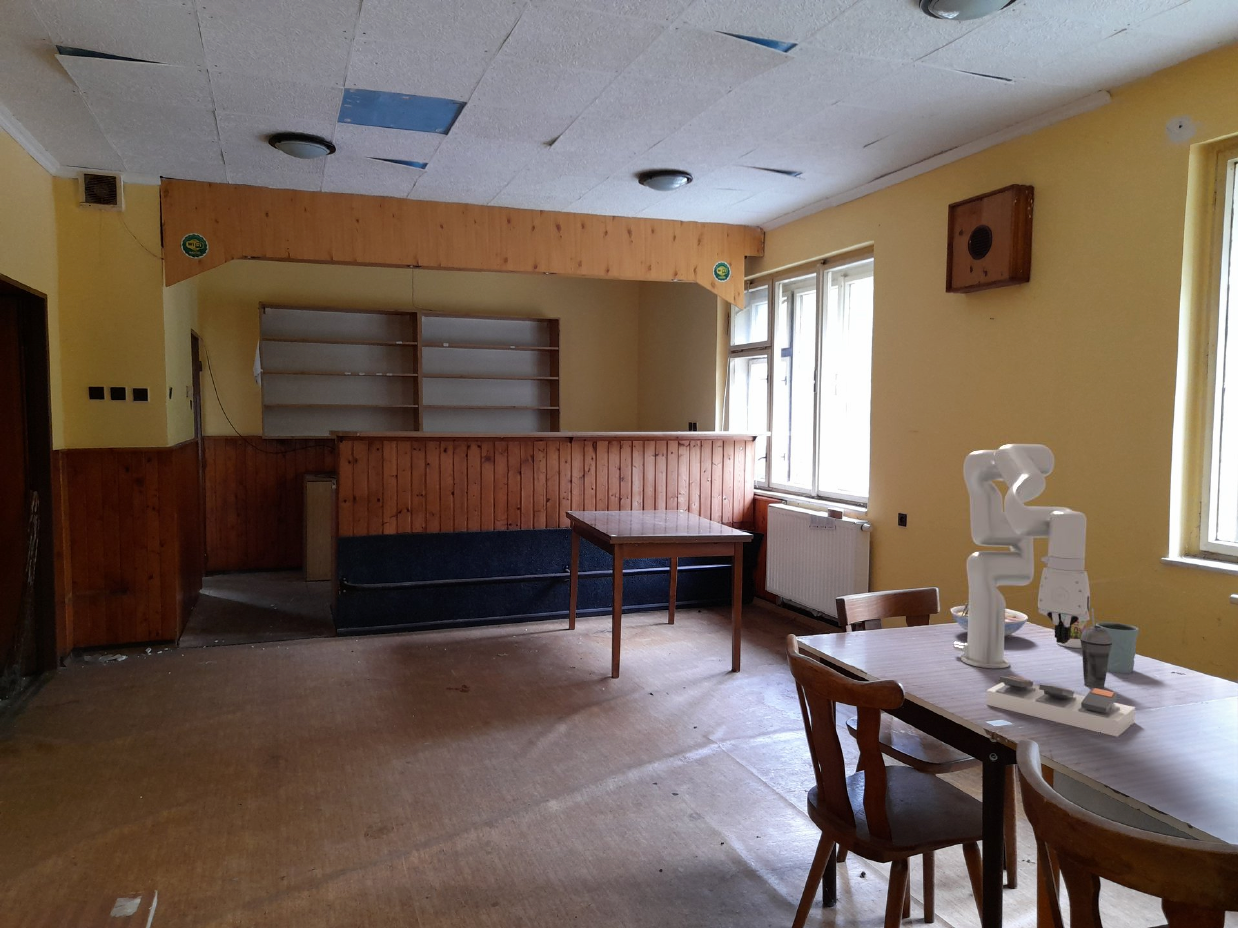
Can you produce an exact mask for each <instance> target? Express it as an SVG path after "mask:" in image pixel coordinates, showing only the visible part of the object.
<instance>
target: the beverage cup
mask: <svg viewBox="0 0 1238 928" xmlns="http://www.w3.org/2000/svg"><path fill="white" fill-rule="evenodd" d="M1094 611H1095V610H1094V608H1091V611H1090V612H1091V621H1092V623H1091V624H1092V625H1091V626H1088V627H1086V629H1085V630H1084V631H1083V633H1082V635H1081V639H1080V641H1081V648H1080V649H1081V652H1082V655H1081V657H1082V671H1083V673H1082V674H1083V682H1084V683H1083V684H1084V686H1085V687H1088V688H1091V689H1092V688H1097V689H1104V688H1105V684H1106V681H1107V680H1106V679H1107V672H1108V671H1107V666H1108V659H1109V652H1110V650H1111V645H1112V640H1111V636H1110V634H1109V633H1108V631H1107V630H1106V629H1104V628H1102V627H1100V626H1096V623H1095V613H1094Z"/></svg>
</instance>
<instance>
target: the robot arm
mask: <svg viewBox="0 0 1238 928" xmlns="http://www.w3.org/2000/svg"><path fill="white" fill-rule="evenodd" d="M1054 467H1055V456H1054V453H1053V452H1052V451H1051V449H1050V448H1049V447H1047V446H1046V445H1043V444H1041V443H1040V444H1038V443H1037V444H1032V443H1031V444H1030V443H1011V444H1005V445H1002V446H1000V447H999V448H998V449H982V450H976V451H973V452H970V453H969V454H968V455H966V457H965V459H964V462H963V471H962V472H963V479H964V483H965V486H966V488H967V492H968V495H969V508H970V509H969V512H970V513H969V514H970V515H969V516H970V517H969V518H970V534H971V539H972V542H974V543H975V544H976V545H978V546H982V547H1007V548H1010V551H1004V550H1002V551H1000V550H981V551H975V552H973V553H971V554H970V555H969V556H968V557H967V559H966V574H967V582H968V583H967V584H968V601H969V603H968V606H969V613H968V631H967V641H966V642H965V643H961V642H958V641H955V642H953V649H954V651H959V652H962V654H961V656H960V660H961V662H963V663H965V664H967V665H970V666H973V667H978V668H986V669H1006V668H1008V667H1009V666H1010V664H1011V663H1010V660H1009V659H1008V658H1006V657H1004V655H1005V653H1004V652H1005V636H1004V633H1005V609H1006V599H1005V597H1004V595H1003V594H1002V593H1001V591H999V589H998V587H1001V586H1010V587H1011V586H1012V587H1014V586H1015V587H1017V586H1021V587H1023V586H1028V585H1029V584H1031V582H1032V581H1033V579H1034V573H1035V560H1034V559H1035V557H1034V556H1035V555H1034V538H1037V539H1038V538H1039V539H1040V538H1041V539H1042V538H1045V539H1046V538H1047V539H1048V550H1047V555H1045V556H1041V562H1042V563H1045V564H1046V567H1043V569H1042V572H1041V577H1040V582H1039V589H1038V597H1037V607H1038V613H1039V614H1041V615H1044V616H1046V617H1048V618H1049V620H1050V621H1051V622H1052V624H1053V625H1054V638H1055V639H1056V643H1060V642H1061V643H1062V644H1065V643H1067V642H1068V640H1070V638H1071V625H1073V624H1074V623H1076V622H1077V621H1086V622H1087V621H1089V620H1090V619H1091V618H1090V613H1089V611H1090V608H1091V606H1090V605H1091V591H1090V581H1089V577H1088V571H1085V559H1086V558H1085V557H1086V542H1087V541H1086V538H1087V535H1086V533H1087V517H1086V516H1087V515H1085V514H1084V513H1083V512H1080V511H1075V510H1073V509H1071V508H1068V507H1065V506H1043V505H1042V506H1037V505H1034V506H1033V505H1032V506H1031V505H1030V506H1029V505H1025V504H1024V503H1027V502H1029V501H1031V500H1033V499H1035V498H1038V497H1039V496H1040V495H1041V494H1042V493H1043V492H1044V490H1045V488H1046V484H1047V483H1046V479H1045V477H1047V476H1049V475H1050V474H1051V473H1052V472H1053V470H1054ZM993 481H1002V482H1003V481H1004V483H1005V484H1006V486H1007V487H1008V490H1007V493H1006V495H1005V497H1004V501H1003V496H1002V495H1003V494H1002V493H1001V491H1000V490H999V489H998V487H997V486H996V485H995V483H993ZM1062 614H1066V616H1065V621H1064V624H1063V622H1062Z"/></svg>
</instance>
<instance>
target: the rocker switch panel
mask: <svg viewBox="0 0 1238 928" xmlns="http://www.w3.org/2000/svg"><path fill="white" fill-rule="evenodd" d="M1039 686H1040V685H1035V684H1033V687H1027V690H1024V689H1020V688H1015V687H1011V686H1006V685H1004V683H1002V682H999V683H998V684H995V685H994V686H992V687H990V688H988V689H986V697H985V698H986V702H985V703H986V704H985V705H987V706H990V707H994V708H999V709H1003V710H1007V711H1010V712H1016V713H1018V714H1021V715H1022V714H1023V715H1028V716H1032V717H1036V718H1039V719H1044V720H1049V721H1052V722H1056V723H1059V724H1064V725H1068V726H1073V727H1077V728H1081V729H1085V730H1089V731H1093V732H1097V733H1100V732H1101V734H1104V735H1110V736H1112V737H1117V738H1118V737H1119V736H1121V734H1123V733H1124V732H1125V731H1126V730H1127V729H1128V728H1130V727H1131V726H1132V725H1134V723H1135V716H1136V707H1135V706H1131V705H1126V704H1123V703H1118V702H1114V703H1113V705H1112V709H1109V710H1108V712H1107V713H1103V712H1099V711H1094V710H1090V709H1085V708H1081V702H1082V701H1083V700H1084V698H1085V697H1086V696H1087V695H1086V696H1085V695H1081V694H1078V693H1077V694H1076V693H1074V695H1073V697H1072V696H1068V699H1064V698H1060V697H1055V696H1051V695H1046V694H1044V690H1039ZM1130 725H1131V726H1130Z"/></svg>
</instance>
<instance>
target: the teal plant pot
mask: <svg viewBox="0 0 1238 928" xmlns="http://www.w3.org/2000/svg"><path fill="white" fill-rule="evenodd" d="M1095 626H1100V627H1102V628H1104V629H1106V630H1107V631H1108V633H1109V634H1110V636H1111V640H1112V645H1111V650H1110V652H1109V659H1108V666H1107V672H1109V673H1116V674H1131V673H1133V671H1134V668H1135V667H1134V666H1135V656H1136V650H1137V649H1136V648H1137V647H1136V646H1137V640H1138V634H1139V628H1138V627H1136V626H1134V625H1131V624H1125V623H1120V622H1119V623H1118V622H1111V621H1110V622H1107V621H1105V622H1097V623H1095Z"/></svg>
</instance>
